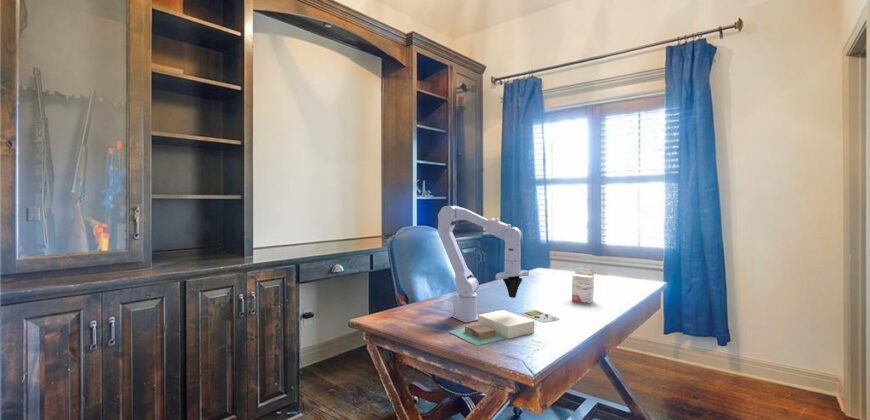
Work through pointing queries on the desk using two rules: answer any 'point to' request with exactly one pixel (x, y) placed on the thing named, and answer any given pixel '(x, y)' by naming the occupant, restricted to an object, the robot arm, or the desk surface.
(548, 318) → the handheld gaming device
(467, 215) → the robot arm
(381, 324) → the desk surface
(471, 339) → the mat
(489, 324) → the cream white board
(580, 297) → the ink cartridge box
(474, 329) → the block
